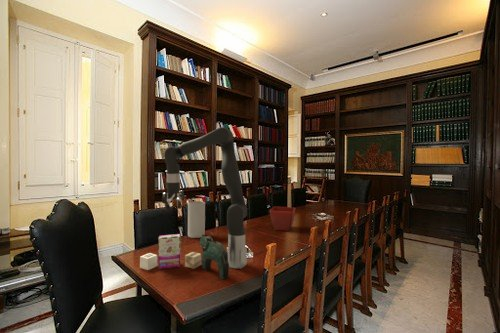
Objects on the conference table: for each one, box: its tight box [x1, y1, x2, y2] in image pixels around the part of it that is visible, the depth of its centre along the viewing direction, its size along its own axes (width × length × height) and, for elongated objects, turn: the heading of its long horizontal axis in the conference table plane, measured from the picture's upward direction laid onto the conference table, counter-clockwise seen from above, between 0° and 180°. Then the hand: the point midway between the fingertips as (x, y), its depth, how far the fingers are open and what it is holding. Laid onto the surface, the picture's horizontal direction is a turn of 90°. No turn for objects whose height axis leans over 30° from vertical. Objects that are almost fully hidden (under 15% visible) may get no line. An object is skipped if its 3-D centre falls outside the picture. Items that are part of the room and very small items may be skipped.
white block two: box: [139, 252, 158, 271], centre depth 131 cm, size 6×6×6 cm
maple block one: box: [184, 251, 202, 269], centre depth 133 cm, size 6×6×6 cm
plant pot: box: [269, 206, 296, 232], centre depth 208 cm, size 19×19×17 cm
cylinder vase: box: [187, 200, 206, 239], centre depth 186 cm, size 12×12×25 cm
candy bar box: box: [157, 233, 182, 270], centre depth 132 cm, size 11×5×16 cm, turn 105°
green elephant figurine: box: [199, 232, 230, 280], centre depth 125 cm, size 20×6×20 cm, turn 45°
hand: (173, 209), depth 143 cm, fingers open, 8 cm apart
